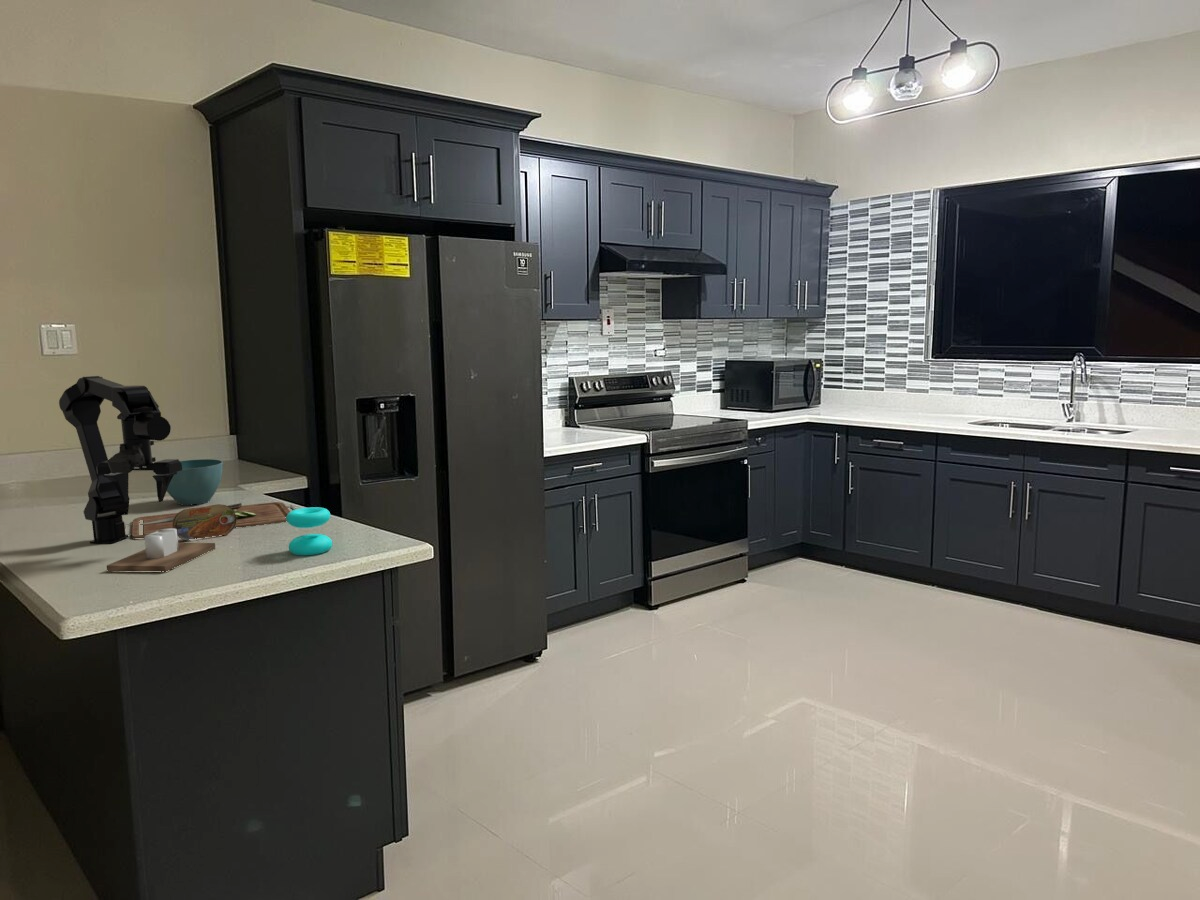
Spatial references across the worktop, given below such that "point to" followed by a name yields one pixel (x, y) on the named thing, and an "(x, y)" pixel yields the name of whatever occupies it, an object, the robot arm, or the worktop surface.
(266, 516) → the chopping board
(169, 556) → the walnut board
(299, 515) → the donuts
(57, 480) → the worktop surface
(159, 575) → the worktop surface
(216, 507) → the tin
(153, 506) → the worktop surface
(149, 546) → the smooth grey rounded block
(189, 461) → the teal bowl
